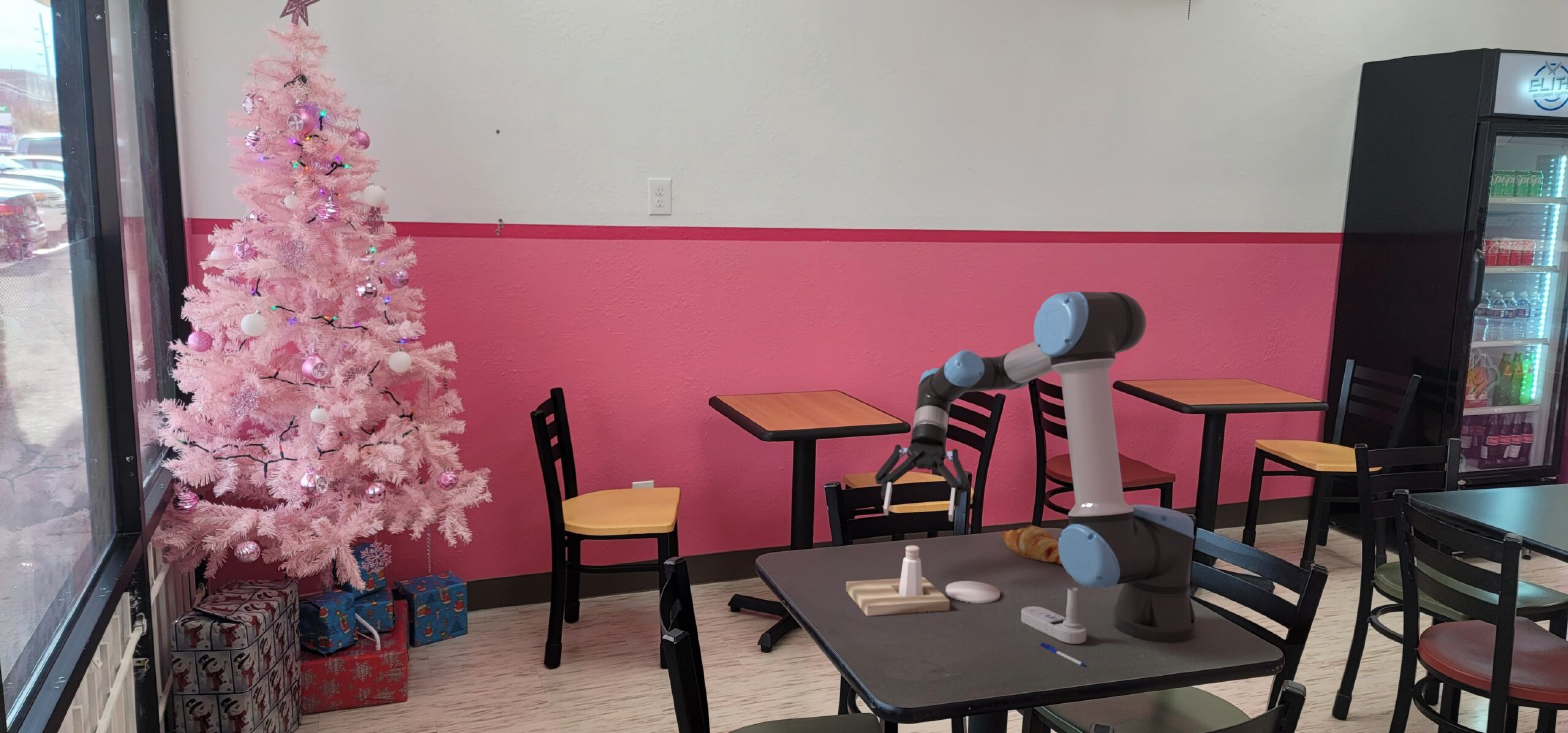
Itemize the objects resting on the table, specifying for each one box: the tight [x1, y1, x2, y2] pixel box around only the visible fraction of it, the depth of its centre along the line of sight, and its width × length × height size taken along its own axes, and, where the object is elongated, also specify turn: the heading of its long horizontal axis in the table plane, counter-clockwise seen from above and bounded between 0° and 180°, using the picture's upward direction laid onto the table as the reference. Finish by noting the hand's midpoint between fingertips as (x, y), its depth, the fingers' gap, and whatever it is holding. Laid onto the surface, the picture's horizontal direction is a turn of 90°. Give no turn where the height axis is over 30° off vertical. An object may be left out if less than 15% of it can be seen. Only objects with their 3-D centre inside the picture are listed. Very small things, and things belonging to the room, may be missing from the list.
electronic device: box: [1020, 587, 1088, 645], centre depth 192 cm, size 5×10×15 cm
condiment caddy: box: [845, 576, 951, 617], centre depth 206 cm, size 14×17×2 cm
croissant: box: [1001, 524, 1063, 565], centre depth 238 cm, size 21×10×8 cm, turn 34°
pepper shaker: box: [899, 545, 923, 597], centre depth 206 cm, size 5×5×11 cm
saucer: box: [945, 580, 1001, 604], centre depth 211 cm, size 11×11×1 cm
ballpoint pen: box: [1039, 642, 1087, 668], centre depth 181 cm, size 10×1×1 cm, turn 33°
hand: (917, 515), depth 214 cm, fingers open, 13 cm apart
